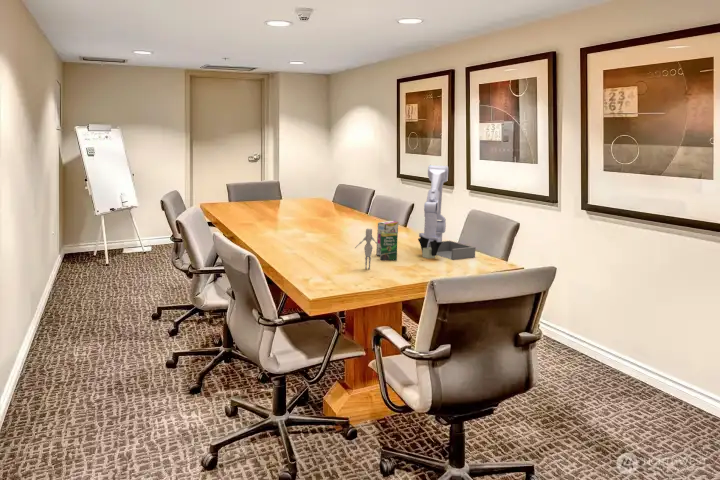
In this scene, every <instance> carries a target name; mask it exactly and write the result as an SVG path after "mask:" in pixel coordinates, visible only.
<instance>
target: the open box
mask: <svg viewBox="0 0 720 480" xmlns="http://www.w3.org/2000/svg"><path fill="white" fill-rule="evenodd" d="M441 242H442V243H441V245H440V246H439V248H438V251H437V254H436V256H438V257H442V258H445V259H449V260H451V261H455V260H464V259H472V258H473V259H474V258H476V247H475V246H472V245H467V244H464V243H460V242H457V241H452V240H442V241H441ZM428 247H431V244H430V243H429V244H428Z"/></svg>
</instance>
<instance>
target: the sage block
mask: <svg viewBox="0 0 720 480" xmlns="http://www.w3.org/2000/svg"><path fill="white" fill-rule="evenodd" d="M421 253H422V258H425V259H435V258H436V256H432V249H431V247H428V248H423V252H422V251H421Z"/></svg>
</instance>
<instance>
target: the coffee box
mask: <svg viewBox="0 0 720 480" xmlns="http://www.w3.org/2000/svg"><path fill="white" fill-rule="evenodd" d="M380 246H381V247H380V256H379V259H380V261H397V260H398V238H397V232H392V233H385V232H381V233H380Z"/></svg>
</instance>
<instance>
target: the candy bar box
mask: <svg viewBox="0 0 720 480" xmlns="http://www.w3.org/2000/svg"><path fill="white" fill-rule="evenodd" d="M381 232H385V233H392V232H397V239H398V234H399V221H395V220H386V221H380V222H379V221H378V222H377V233H376V236H377V237H376V242H377V243H378V244H379V245H380V233H381ZM378 244H376V252H375V255H376V256H378V257H380V246H379V245H378Z"/></svg>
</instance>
